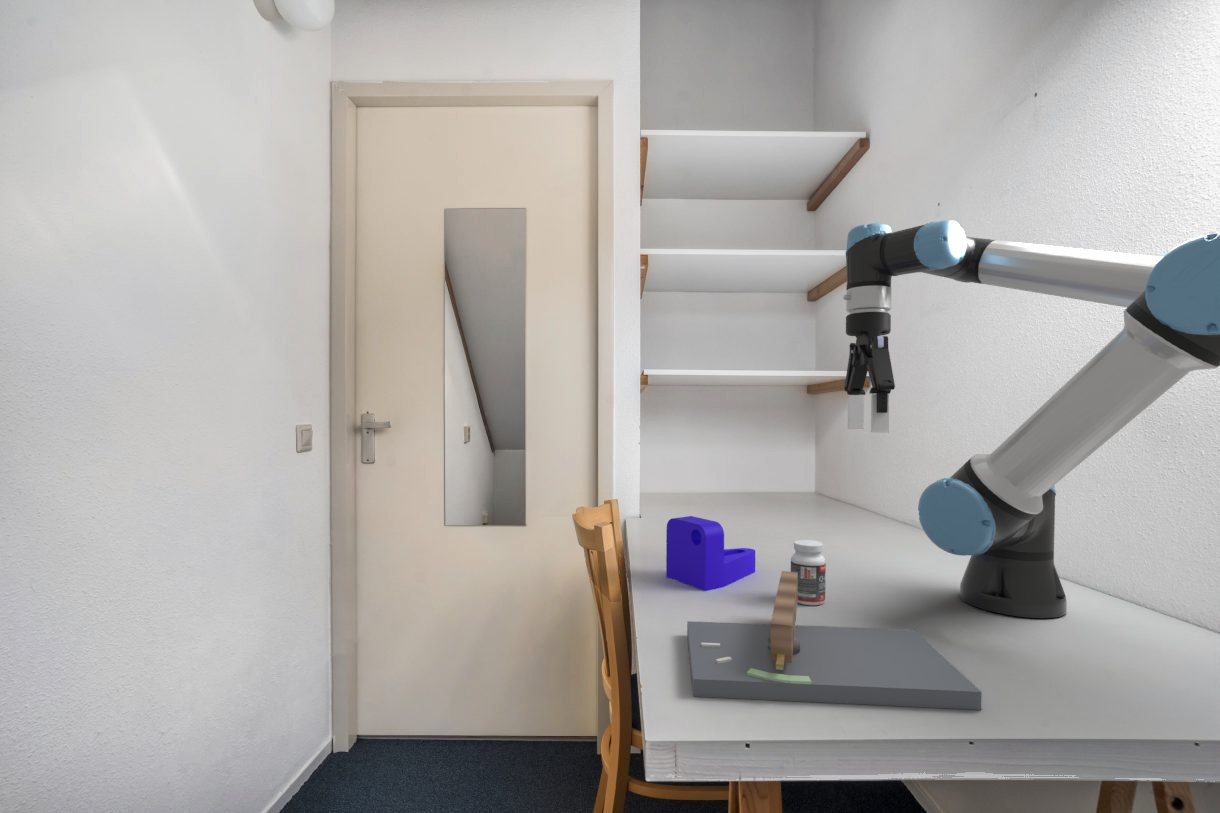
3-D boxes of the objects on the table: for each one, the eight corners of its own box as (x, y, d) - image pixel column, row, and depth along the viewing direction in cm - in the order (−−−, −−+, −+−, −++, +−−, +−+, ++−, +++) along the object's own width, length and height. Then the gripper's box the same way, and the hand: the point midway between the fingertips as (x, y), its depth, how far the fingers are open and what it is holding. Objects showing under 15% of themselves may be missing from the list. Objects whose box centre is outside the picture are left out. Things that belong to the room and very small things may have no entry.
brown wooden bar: (776, 605, 98) (776, 570, 98) (802, 607, 97) (803, 572, 97) (761, 678, 72) (761, 631, 72) (797, 683, 71) (798, 635, 71)
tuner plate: (913, 643, 88) (913, 627, 88) (981, 709, 69) (981, 689, 69) (687, 635, 91) (687, 619, 91) (693, 696, 72) (693, 676, 72)
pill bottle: (827, 607, 104) (828, 547, 103) (791, 605, 105) (792, 545, 105) (822, 596, 109) (823, 539, 109) (789, 594, 110) (789, 538, 110)
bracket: (705, 591, 112) (705, 526, 112) (666, 577, 121) (666, 516, 121) (773, 576, 122) (773, 516, 122) (732, 564, 131) (733, 508, 131)
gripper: (828, 322, 126) (827, 427, 126) (869, 302, 101) (867, 433, 102) (867, 321, 126) (866, 427, 126) (917, 302, 101) (915, 434, 101)
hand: (866, 430), depth 114 cm, fingers open, 13 cm apart
